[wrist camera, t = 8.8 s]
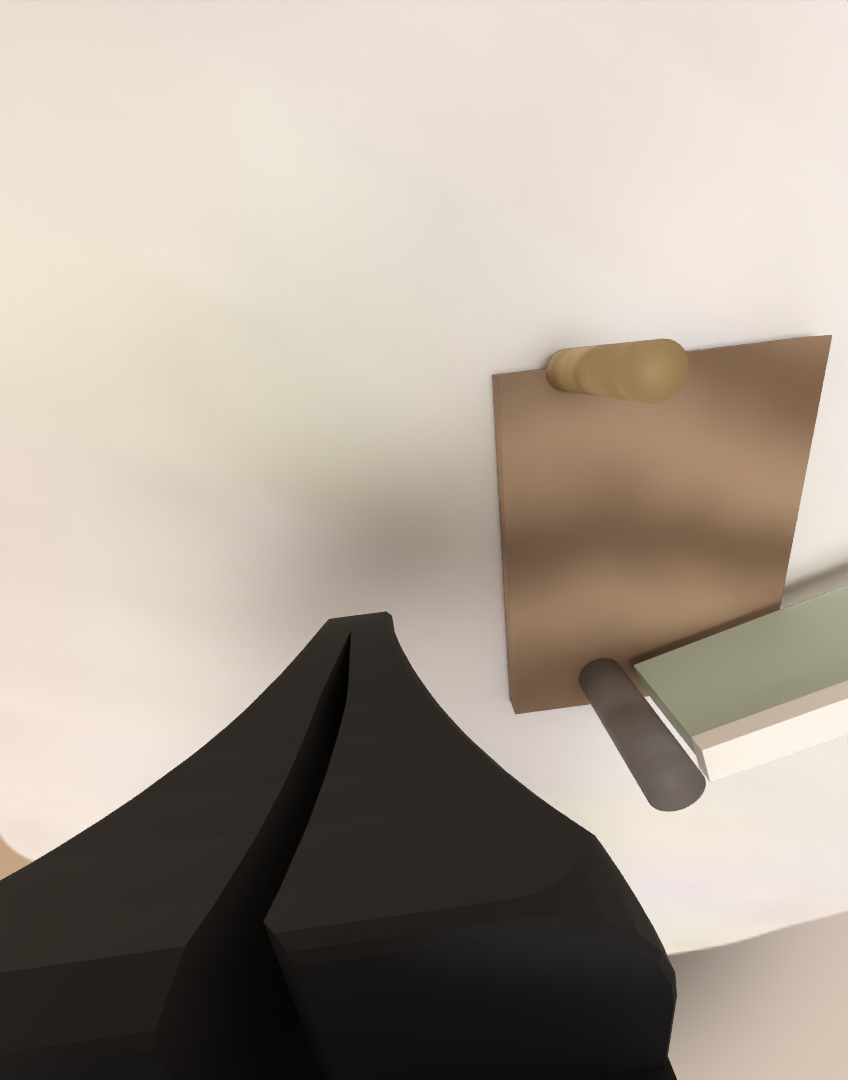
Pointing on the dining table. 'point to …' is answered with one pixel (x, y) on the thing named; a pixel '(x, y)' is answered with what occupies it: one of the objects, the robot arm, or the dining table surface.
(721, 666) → the gate leaf
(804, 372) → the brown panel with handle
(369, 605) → the dining table surface
